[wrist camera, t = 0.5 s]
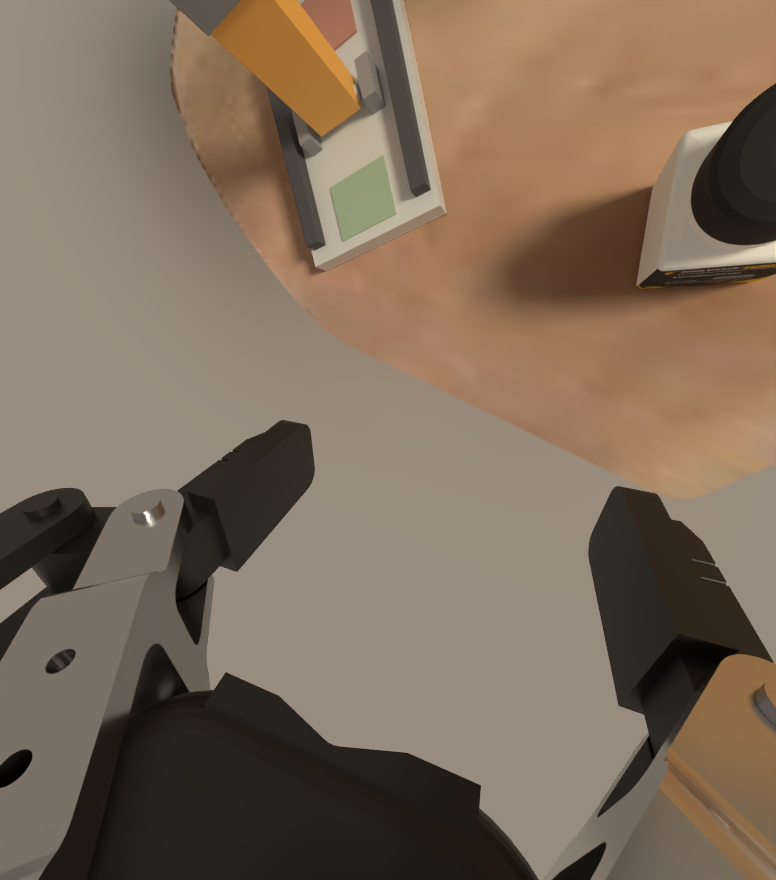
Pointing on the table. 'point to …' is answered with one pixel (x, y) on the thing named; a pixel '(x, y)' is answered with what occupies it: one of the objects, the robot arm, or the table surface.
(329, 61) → the lever
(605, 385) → the table surface
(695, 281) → the medicine bottle
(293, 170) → the dark grey mounting rails
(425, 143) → the breaker panel
